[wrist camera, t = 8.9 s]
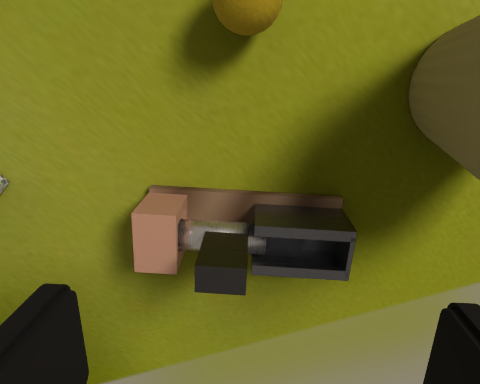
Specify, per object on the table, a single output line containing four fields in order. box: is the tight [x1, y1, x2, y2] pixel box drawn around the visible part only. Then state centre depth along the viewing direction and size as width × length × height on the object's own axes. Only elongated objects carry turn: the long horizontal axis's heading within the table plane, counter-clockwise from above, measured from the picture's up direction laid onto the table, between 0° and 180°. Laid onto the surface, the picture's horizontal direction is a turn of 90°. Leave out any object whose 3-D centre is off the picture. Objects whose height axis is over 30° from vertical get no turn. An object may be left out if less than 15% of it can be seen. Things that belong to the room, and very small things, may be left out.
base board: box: [149, 185, 343, 255], centre depth 37 cm, size 20×7×1 cm, turn 87°
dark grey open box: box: [251, 203, 357, 281], centre depth 34 cm, size 9×5×6 cm, turn 87°
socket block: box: [131, 193, 187, 275], centre depth 35 cm, size 4×6×6 cm, turn 177°
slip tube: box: [178, 219, 266, 295], centre depth 31 cm, size 11×3×9 cm, turn 87°
